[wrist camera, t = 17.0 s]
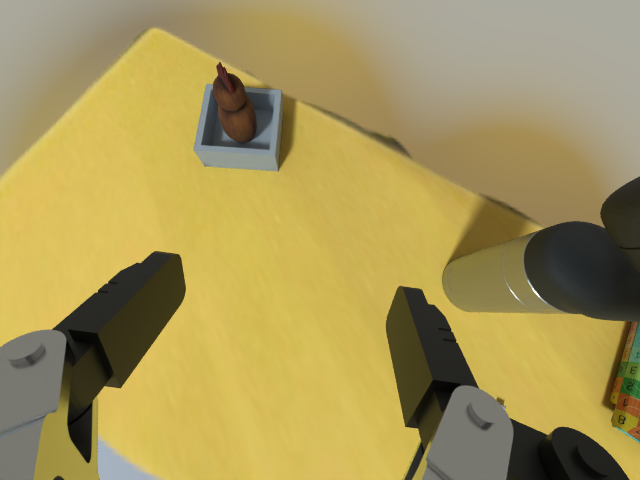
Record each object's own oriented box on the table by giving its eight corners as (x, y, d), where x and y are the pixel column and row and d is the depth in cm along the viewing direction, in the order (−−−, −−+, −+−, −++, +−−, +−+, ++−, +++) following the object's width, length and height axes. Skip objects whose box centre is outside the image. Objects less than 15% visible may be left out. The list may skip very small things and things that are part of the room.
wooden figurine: (261, 146, 48) (243, 76, 34) (229, 150, 48) (196, 81, 33) (257, 115, 50) (237, 35, 35) (225, 118, 49) (192, 39, 35)
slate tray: (283, 110, 51) (281, 90, 47) (278, 171, 48) (275, 155, 43) (215, 105, 51) (206, 83, 46) (205, 166, 48) (193, 150, 43)
